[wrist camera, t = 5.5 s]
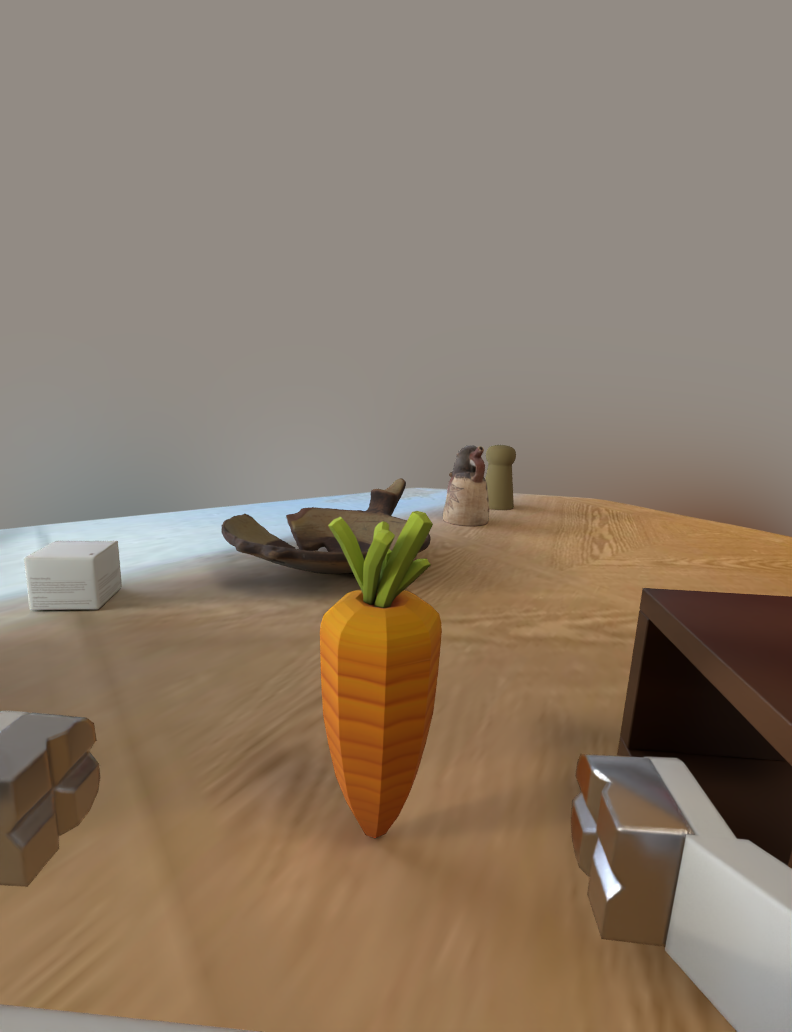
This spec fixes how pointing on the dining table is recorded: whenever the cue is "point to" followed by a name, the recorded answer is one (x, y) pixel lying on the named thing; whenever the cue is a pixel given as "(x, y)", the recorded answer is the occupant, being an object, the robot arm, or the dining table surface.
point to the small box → (73, 575)
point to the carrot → (379, 673)
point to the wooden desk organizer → (719, 703)
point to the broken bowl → (319, 533)
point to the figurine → (467, 490)
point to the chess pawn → (500, 476)
